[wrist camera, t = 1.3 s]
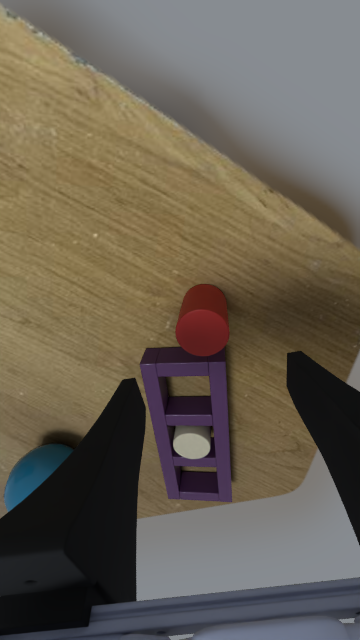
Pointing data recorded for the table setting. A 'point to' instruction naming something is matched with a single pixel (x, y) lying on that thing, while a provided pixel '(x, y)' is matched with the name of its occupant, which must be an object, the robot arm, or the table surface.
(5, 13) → the table surface
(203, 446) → the cream token
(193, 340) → the cylinder
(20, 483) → the ball
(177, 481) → the board
